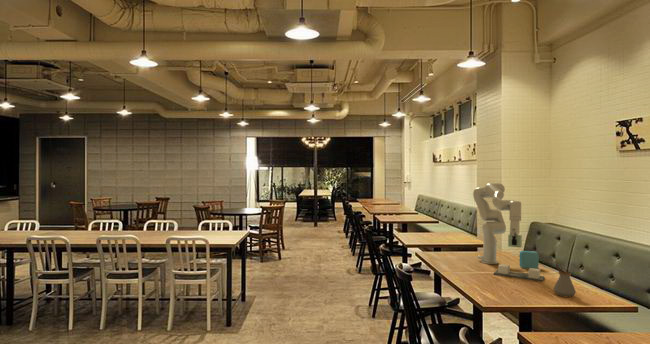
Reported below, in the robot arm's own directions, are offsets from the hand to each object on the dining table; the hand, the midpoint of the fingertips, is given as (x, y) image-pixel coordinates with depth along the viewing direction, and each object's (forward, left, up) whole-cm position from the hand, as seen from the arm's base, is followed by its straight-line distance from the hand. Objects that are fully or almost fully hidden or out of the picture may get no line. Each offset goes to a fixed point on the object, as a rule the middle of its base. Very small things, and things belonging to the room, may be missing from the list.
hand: (514, 244), depth 305 cm
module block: (0, 0, -2) cm, 2 cm away
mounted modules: (+5, -11, -19) cm, 22 cm away
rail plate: (+5, -11, -20) cm, 23 cm away
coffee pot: (+33, -36, -20) cm, 53 cm away
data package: (+6, +22, -20) cm, 30 cm away
